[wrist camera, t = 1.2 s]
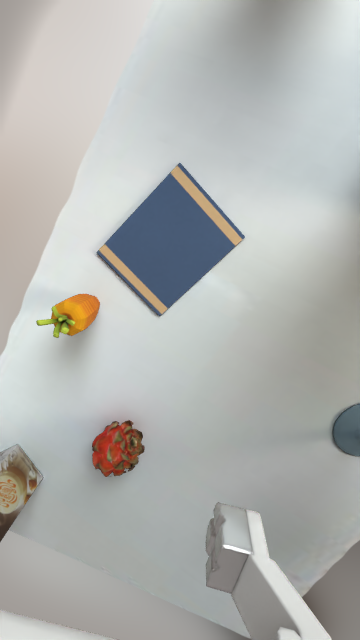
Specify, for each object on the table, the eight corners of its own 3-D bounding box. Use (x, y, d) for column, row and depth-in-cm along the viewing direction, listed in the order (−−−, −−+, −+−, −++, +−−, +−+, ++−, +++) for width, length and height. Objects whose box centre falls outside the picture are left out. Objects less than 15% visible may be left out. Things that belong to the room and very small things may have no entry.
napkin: (180, 163, 43) (179, 162, 43) (244, 237, 45) (245, 237, 45) (97, 252, 48) (96, 252, 47) (159, 315, 50) (159, 316, 49)
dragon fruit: (144, 407, 57) (117, 445, 62) (102, 407, 52) (76, 448, 57) (160, 449, 51) (129, 487, 56) (114, 453, 46) (84, 494, 51)
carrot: (75, 301, 50) (23, 330, 36) (92, 279, 49) (46, 299, 35) (99, 321, 51) (57, 357, 37) (116, 299, 50) (80, 327, 35)
